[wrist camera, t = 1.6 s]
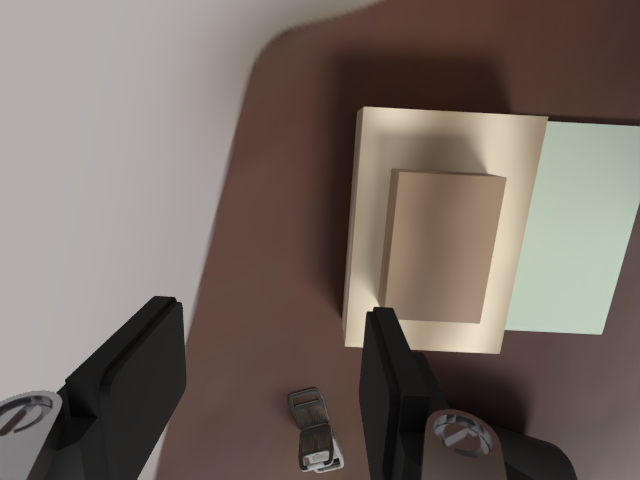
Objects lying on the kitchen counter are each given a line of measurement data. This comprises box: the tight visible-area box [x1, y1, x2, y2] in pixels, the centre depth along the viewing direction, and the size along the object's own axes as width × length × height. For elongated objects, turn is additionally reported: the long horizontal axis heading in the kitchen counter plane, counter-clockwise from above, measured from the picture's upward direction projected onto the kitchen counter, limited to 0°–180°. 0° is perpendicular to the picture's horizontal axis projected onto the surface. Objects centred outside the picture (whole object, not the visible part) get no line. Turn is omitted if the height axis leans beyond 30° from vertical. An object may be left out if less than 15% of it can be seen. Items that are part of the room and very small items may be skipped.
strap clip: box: [288, 388, 344, 473], centre depth 31 cm, size 8×3×4 cm, turn 17°
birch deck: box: [342, 107, 548, 354], centre depth 26 cm, size 11×16×4 cm
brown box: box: [378, 169, 507, 324], centre depth 23 cm, size 6×9×2 cm, turn 177°
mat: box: [505, 121, 640, 334], centre depth 28 cm, size 10×16×1 cm, turn 177°
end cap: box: [486, 423, 577, 480], centre depth 30 cm, size 10×7×7 cm
